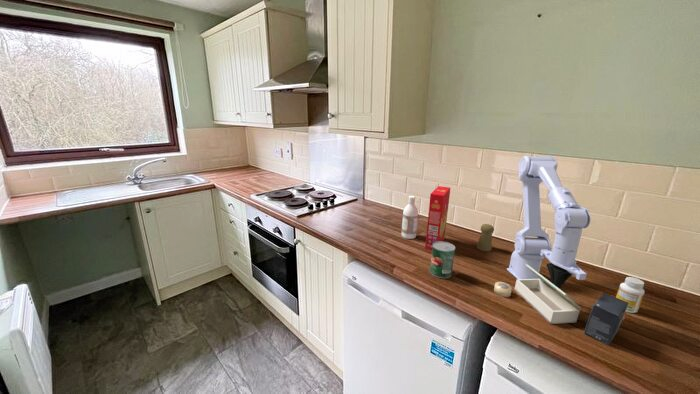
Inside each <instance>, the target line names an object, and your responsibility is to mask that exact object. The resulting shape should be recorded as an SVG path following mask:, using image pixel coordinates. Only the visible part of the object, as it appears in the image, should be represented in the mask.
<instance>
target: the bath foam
mask: <svg viewBox="0 0 700 394" xmlns="http://www.w3.org/2000/svg"><path fill="white" fill-rule="evenodd" d="M415 203H416V196H415V195H409V196H408V203H407V205H405V207H404V209H403V212H402V221H401V222H402V224H401V237H402V238H404V239H407V240H413V239H415V238H416V237H417V232H418V221H419V210H418V208H417V206H416V204H415Z"/></svg>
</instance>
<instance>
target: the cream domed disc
mask: <svg viewBox="0 0 700 394" xmlns="http://www.w3.org/2000/svg"><path fill="white" fill-rule="evenodd" d="M512 290H513V287H512V286H511V285H510V284H508V283H507V282H503V281H496V282H495V283H494V288H493V291H494V293H495V294H496V295H498V296H500V297H503V298H509V297H510V296H512V295H511V294H512Z"/></svg>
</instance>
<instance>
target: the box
mask: <svg viewBox="0 0 700 394" xmlns="http://www.w3.org/2000/svg"><path fill="white" fill-rule="evenodd" d="M627 306H628V302H626V301H623V300H621V299H618V298H616V296H612V295H610V294H608V293H605V292H603V293H602V294H601V296H600V297H599V298H598V299H596V301H595V303H594V304H593V305H592V307H591V310H590V314H589V317H588V320H587V322H586V326H585V328H584V331H583V334H585V335H587V336H589V337H591V338H593V339H595V340H598V341H599V342H600V343H603V344H605V345H607V346H610V344H611V343H612V341H613V339H614V338H615V336H616V334H617V333H618V332H619V329H620V327H621V324H622V321H623V319H624V317H625V313H626V309H627Z"/></svg>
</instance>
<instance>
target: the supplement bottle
mask: <svg viewBox="0 0 700 394" xmlns="http://www.w3.org/2000/svg"><path fill="white" fill-rule="evenodd" d="M644 287H645V282H644V280H641V279H639V278H637V277H633V276H626V278H625V280H624V282H621V283H620V284H619V287H618V290H617V293H616V296H615V297H616V298H618V299H621V300H623V301H626V302H628V306H627V309H626V311H625V313H631V314H635V313H638V311H639V309H640V306H641V304H642V301H643V298H644V295H645V289H644Z"/></svg>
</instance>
